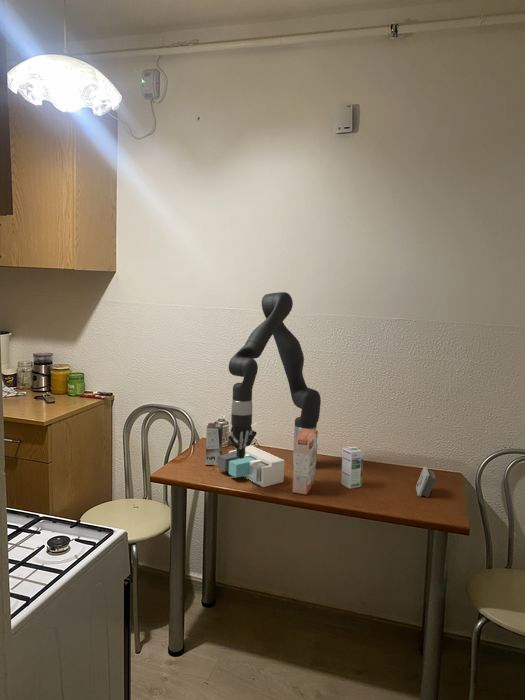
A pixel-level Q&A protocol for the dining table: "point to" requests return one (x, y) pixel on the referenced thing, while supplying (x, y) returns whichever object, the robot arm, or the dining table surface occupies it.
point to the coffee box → (214, 442)
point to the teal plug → (240, 466)
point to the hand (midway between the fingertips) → (240, 458)
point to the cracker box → (304, 461)
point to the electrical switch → (425, 482)
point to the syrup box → (352, 467)
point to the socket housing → (268, 473)
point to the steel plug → (256, 471)
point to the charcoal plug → (226, 460)
